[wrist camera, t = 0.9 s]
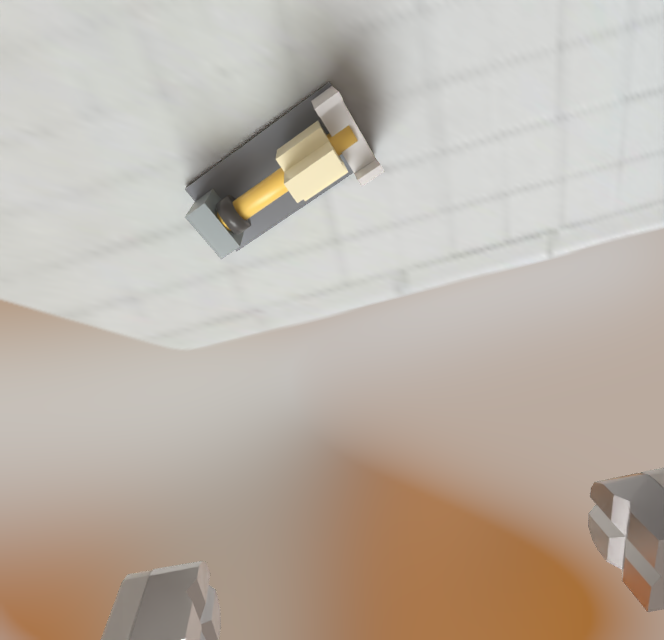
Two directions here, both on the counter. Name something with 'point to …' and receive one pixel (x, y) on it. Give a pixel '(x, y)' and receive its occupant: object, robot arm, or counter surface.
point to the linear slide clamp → (272, 174)
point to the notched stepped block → (309, 163)
